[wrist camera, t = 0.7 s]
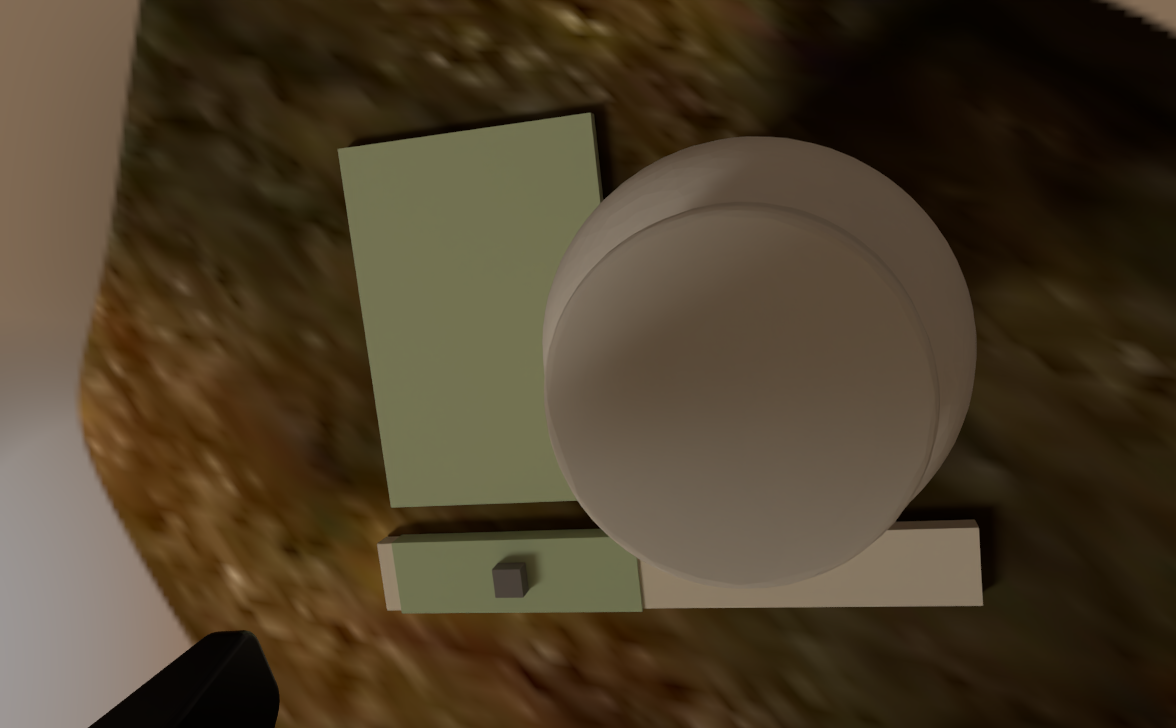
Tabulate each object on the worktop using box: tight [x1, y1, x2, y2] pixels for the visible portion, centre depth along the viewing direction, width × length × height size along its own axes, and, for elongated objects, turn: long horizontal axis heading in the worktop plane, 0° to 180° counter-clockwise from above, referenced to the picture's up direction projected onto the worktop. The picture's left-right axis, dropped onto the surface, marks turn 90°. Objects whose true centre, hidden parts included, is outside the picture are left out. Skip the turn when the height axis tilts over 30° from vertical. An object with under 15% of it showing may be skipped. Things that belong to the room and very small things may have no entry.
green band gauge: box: [338, 113, 983, 613], centre depth 24 cm, size 13×16×1 cm
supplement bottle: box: [542, 136, 976, 589], centre depth 17 cm, size 7×7×13 cm
